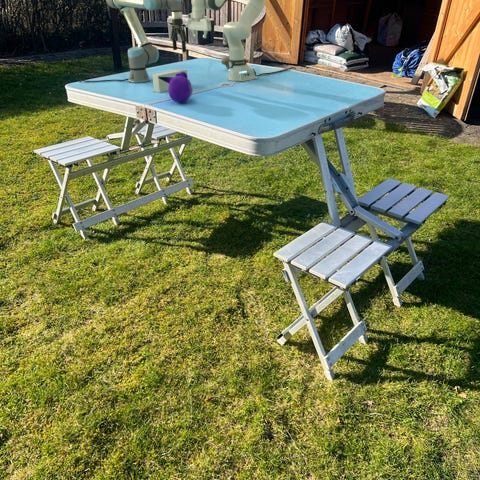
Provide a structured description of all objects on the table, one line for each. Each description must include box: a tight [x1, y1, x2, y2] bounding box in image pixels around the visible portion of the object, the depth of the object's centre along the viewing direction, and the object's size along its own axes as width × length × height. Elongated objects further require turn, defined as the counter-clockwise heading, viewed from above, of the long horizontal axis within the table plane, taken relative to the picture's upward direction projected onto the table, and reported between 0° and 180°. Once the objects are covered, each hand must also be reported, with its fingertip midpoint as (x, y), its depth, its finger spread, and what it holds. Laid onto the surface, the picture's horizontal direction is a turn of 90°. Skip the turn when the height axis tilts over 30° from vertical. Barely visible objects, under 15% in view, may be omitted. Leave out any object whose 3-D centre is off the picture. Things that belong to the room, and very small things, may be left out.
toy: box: [158, 72, 193, 103], centre depth 279 cm, size 16×18×27 cm
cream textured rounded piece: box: [221, 54, 230, 71], centre depth 369 cm, size 21×12×15 cm, turn 120°
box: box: [151, 68, 189, 93], centre depth 311 cm, size 26×6×11 cm, turn 137°
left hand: (179, 51), depth 326 cm, fingers open, 13 cm apart
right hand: (200, 37), depth 311 cm, fingers open, 8 cm apart
